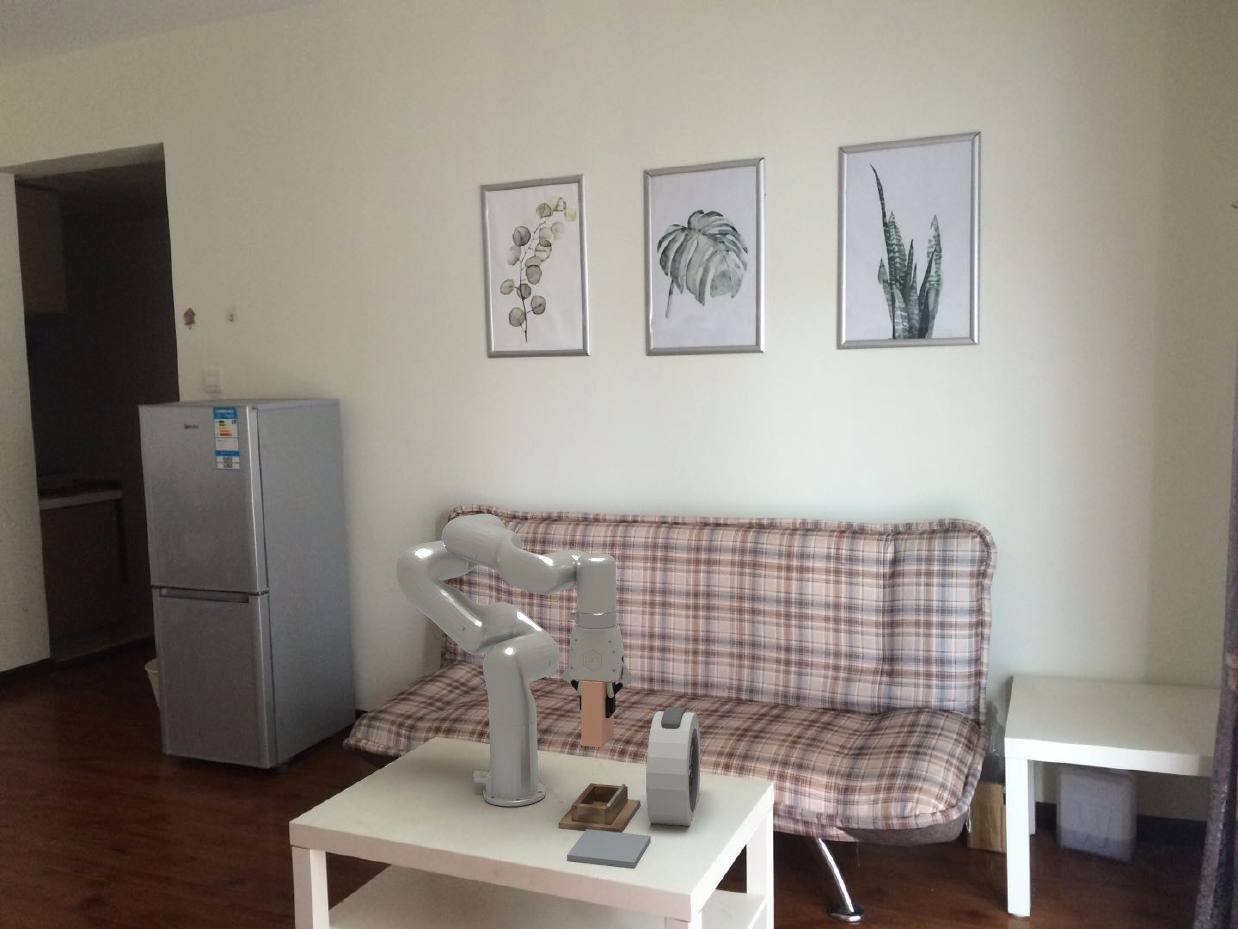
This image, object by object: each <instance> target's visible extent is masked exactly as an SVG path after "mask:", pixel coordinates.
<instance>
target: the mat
mask: <svg viewBox="0 0 1238 929" xmlns="http://www.w3.org/2000/svg"><path fill="white" fill-rule="evenodd" d="M651 839H652V838H651V835H645V834H637V833H625V832H622V833H619V832H609V831H599V830H590V829H587V830H586V831H584V832H583V833H582V834H581V836H580V837H579V838H578V840H577V841H576V842H575V844H574V845H573V846H572V847H571V849H570V850H569V851H568V853H567V854H566V861H568V862H575V863H576V862H577V863H585V864H594V865H601V866H602V865H603V866H613V867H619V868H627V869H635V868H636V867H637V865H638V864H639V862H640V860H641V858H642V856H643V854H644V853H645V851H646V850H647V849H648V846H649V845H650V843H651Z"/></svg>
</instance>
